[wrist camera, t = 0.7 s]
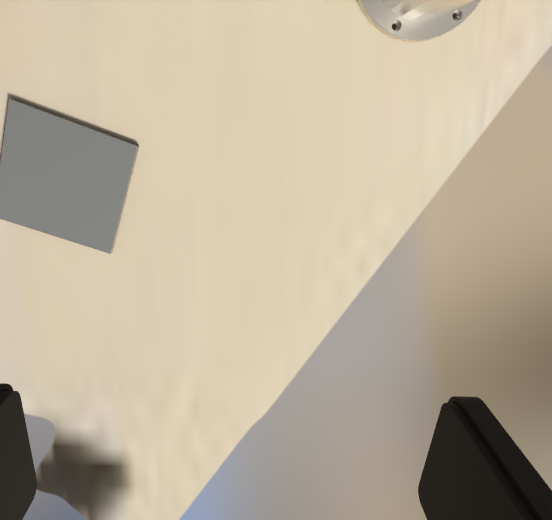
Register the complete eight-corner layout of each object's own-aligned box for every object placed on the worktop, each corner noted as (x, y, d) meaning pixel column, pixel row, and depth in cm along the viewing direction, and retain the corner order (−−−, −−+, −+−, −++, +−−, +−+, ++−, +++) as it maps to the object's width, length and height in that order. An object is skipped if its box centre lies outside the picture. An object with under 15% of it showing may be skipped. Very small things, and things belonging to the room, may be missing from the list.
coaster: (12, 98, 37) (8, 98, 37) (138, 145, 39) (137, 146, 39) (-4, 214, 41) (-8, 216, 41) (112, 251, 43) (110, 253, 43)
